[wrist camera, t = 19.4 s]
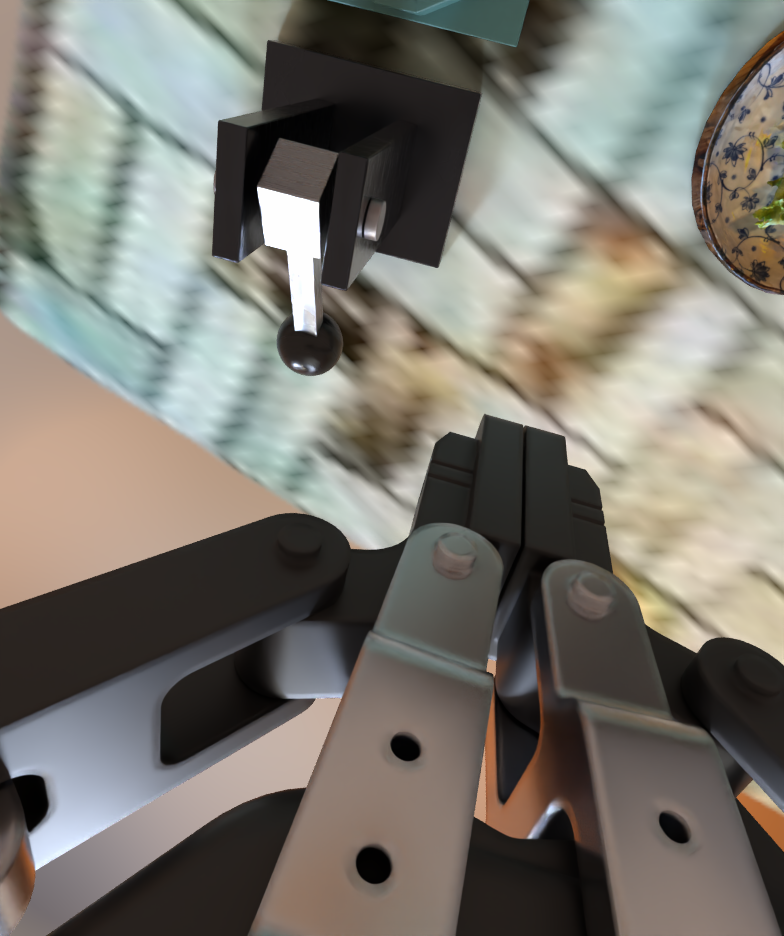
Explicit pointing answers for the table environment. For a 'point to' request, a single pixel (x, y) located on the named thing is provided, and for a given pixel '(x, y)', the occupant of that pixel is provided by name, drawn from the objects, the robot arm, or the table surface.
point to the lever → (301, 249)
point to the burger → (746, 173)
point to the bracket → (350, 157)
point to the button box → (457, 15)
